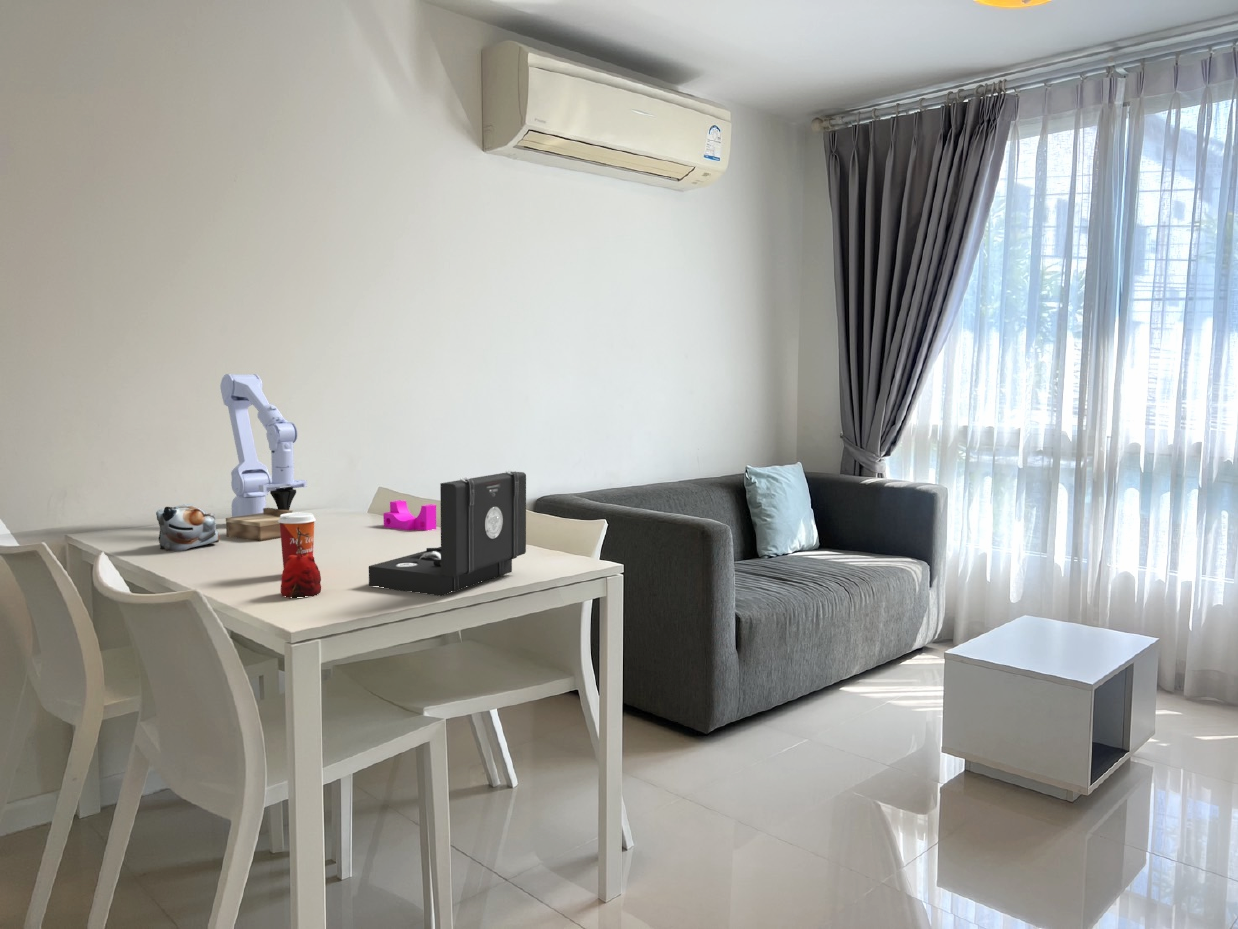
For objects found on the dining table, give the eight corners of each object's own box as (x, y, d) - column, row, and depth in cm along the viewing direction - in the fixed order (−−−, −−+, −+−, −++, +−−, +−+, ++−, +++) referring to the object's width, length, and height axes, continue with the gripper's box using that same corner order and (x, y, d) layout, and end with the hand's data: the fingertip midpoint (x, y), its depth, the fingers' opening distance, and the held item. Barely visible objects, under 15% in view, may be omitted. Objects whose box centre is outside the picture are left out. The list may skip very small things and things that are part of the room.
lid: (225, 521, 245) (225, 512, 245) (263, 516, 255) (263, 507, 255) (260, 526, 238) (259, 517, 238) (297, 520, 248) (297, 511, 248)
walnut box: (226, 536, 246) (226, 522, 245) (264, 530, 256) (263, 516, 256) (260, 542, 239) (260, 527, 238) (298, 535, 249) (297, 521, 248)
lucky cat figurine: (229, 538, 237) (224, 491, 231) (211, 564, 226) (205, 516, 220) (170, 533, 236) (163, 486, 230) (149, 559, 226) (141, 510, 219)
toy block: (383, 528, 264) (383, 502, 263) (400, 525, 269) (399, 500, 268) (420, 534, 255) (419, 507, 254) (436, 531, 260) (436, 505, 259)
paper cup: (295, 584, 192) (293, 518, 191) (271, 579, 196) (270, 515, 195) (325, 577, 199) (323, 513, 197) (301, 573, 203) (300, 510, 201)
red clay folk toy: (323, 594, 184) (322, 521, 182) (318, 603, 177) (316, 526, 175) (284, 595, 182) (282, 521, 181) (276, 604, 176) (274, 527, 174)
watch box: (424, 566, 213) (423, 462, 210) (527, 579, 201) (528, 469, 198) (347, 589, 190) (345, 472, 187) (458, 605, 178) (458, 480, 175)
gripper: (270, 469, 243) (271, 520, 245) (313, 465, 256) (314, 513, 257) (252, 468, 247) (254, 517, 248) (296, 463, 259) (297, 511, 261)
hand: (283, 515), depth 253 cm, fingers closed
